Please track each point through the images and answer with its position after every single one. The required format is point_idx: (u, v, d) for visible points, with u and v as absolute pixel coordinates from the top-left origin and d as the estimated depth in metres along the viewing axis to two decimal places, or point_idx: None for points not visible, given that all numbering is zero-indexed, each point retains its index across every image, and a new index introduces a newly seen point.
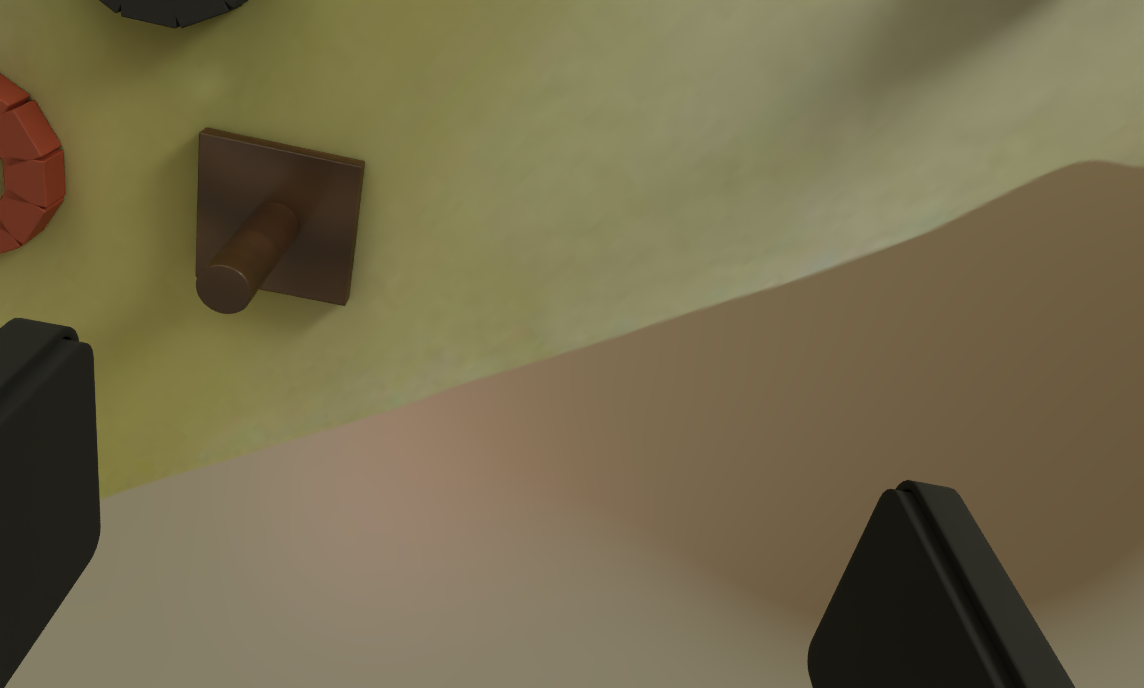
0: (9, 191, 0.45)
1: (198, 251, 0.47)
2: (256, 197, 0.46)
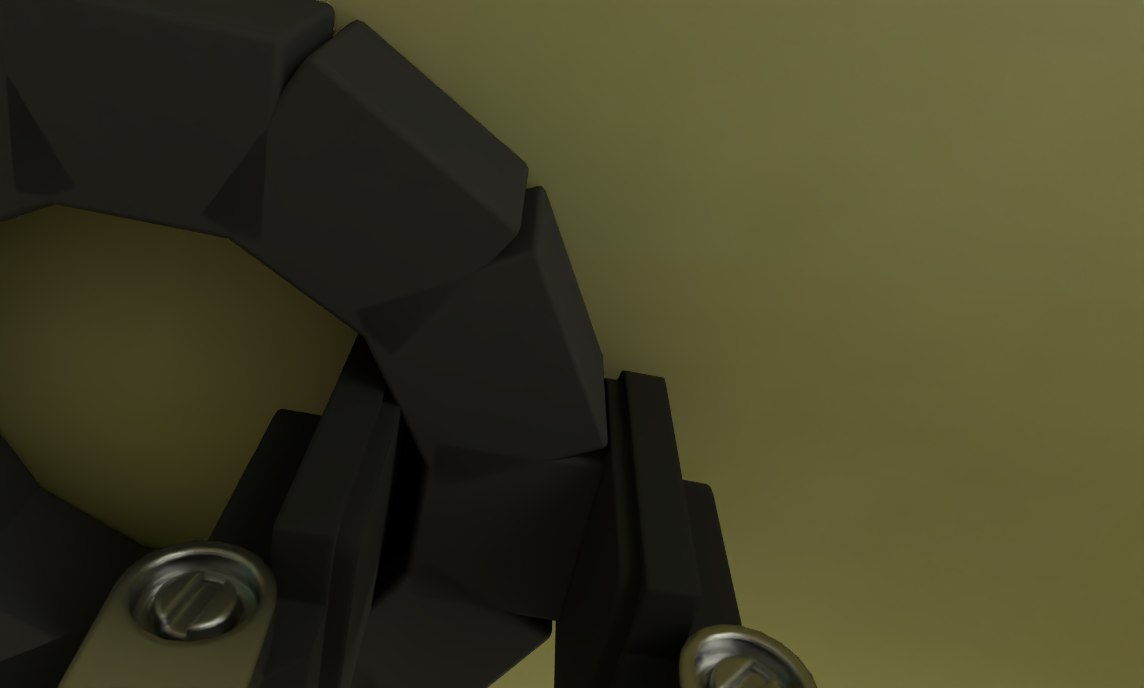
0: None
1: None
2: None
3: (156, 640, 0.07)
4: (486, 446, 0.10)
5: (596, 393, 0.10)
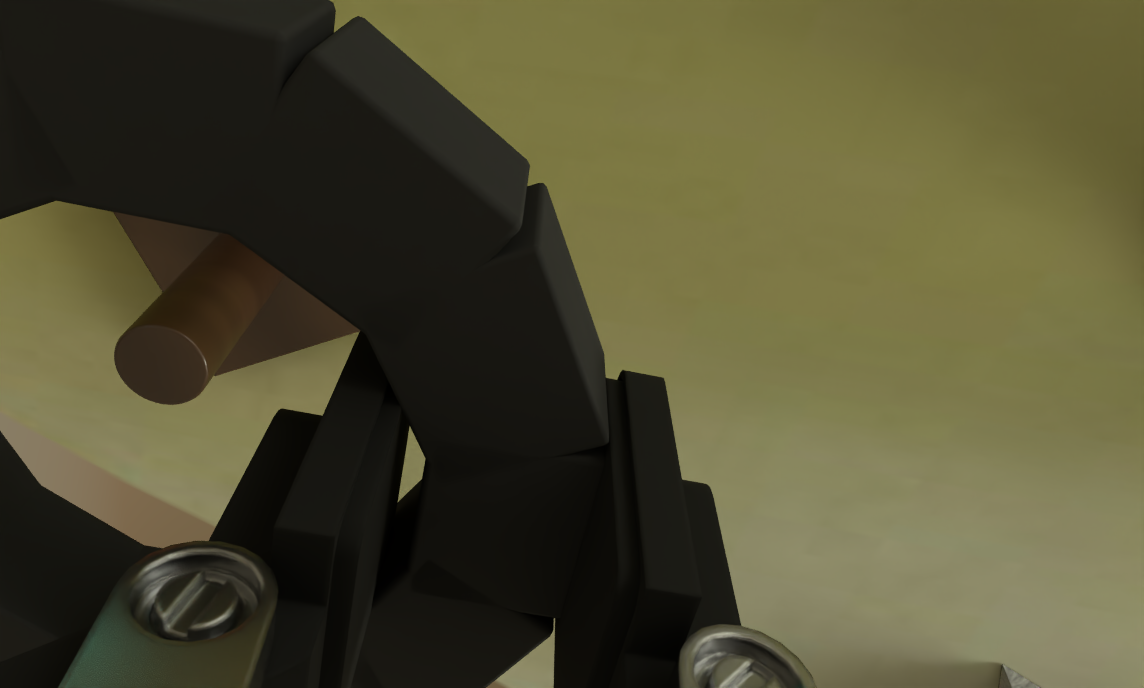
0: None
1: None
2: None
3: (158, 639, 0.07)
4: (487, 443, 0.10)
5: (598, 390, 0.10)
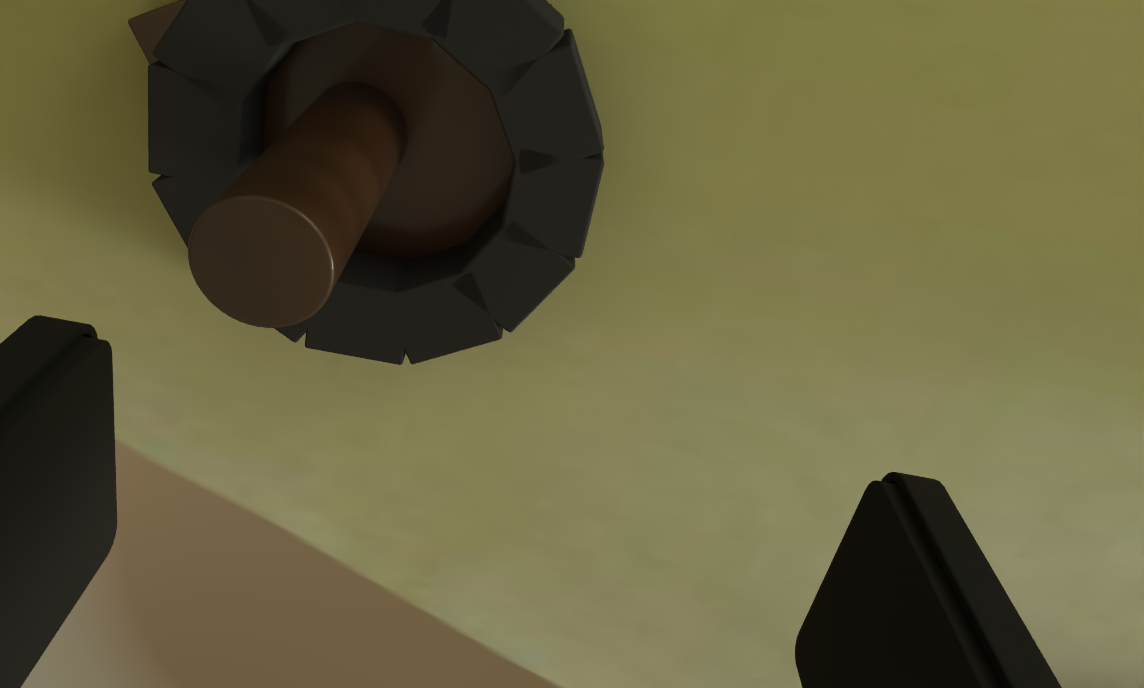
0: None
1: None
2: (387, 74, 0.21)
3: None
4: (545, 149, 0.20)
5: (598, 126, 0.20)
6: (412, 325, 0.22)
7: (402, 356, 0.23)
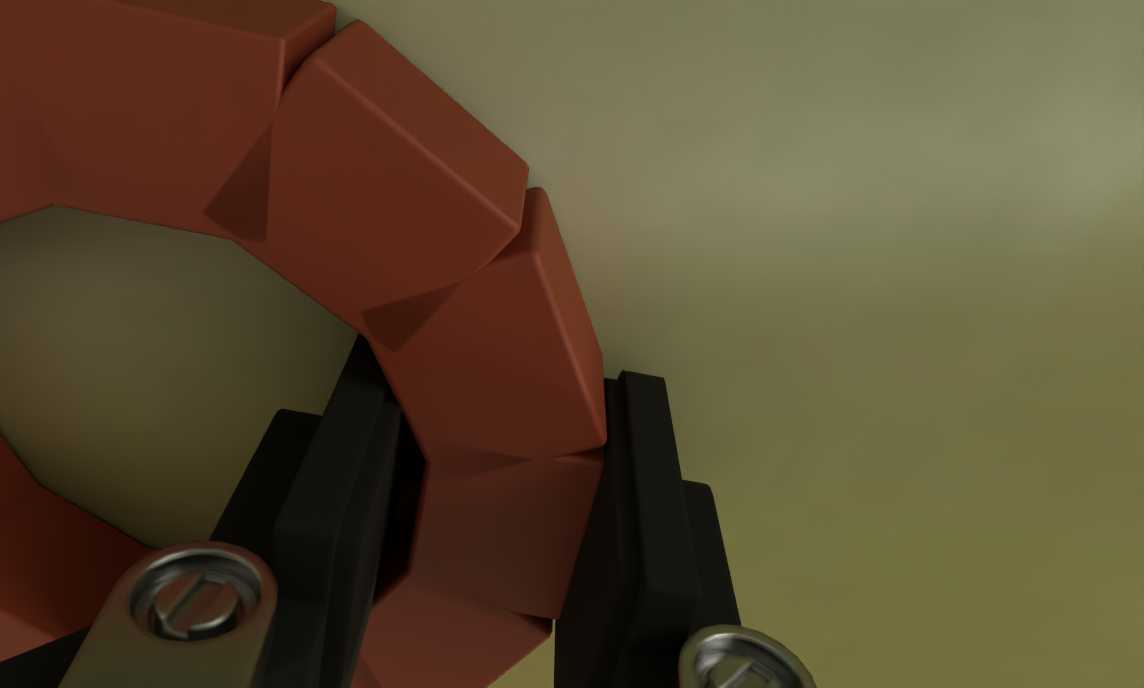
0: None
1: None
2: None
3: (156, 640, 0.07)
4: None
5: None
6: None
7: None
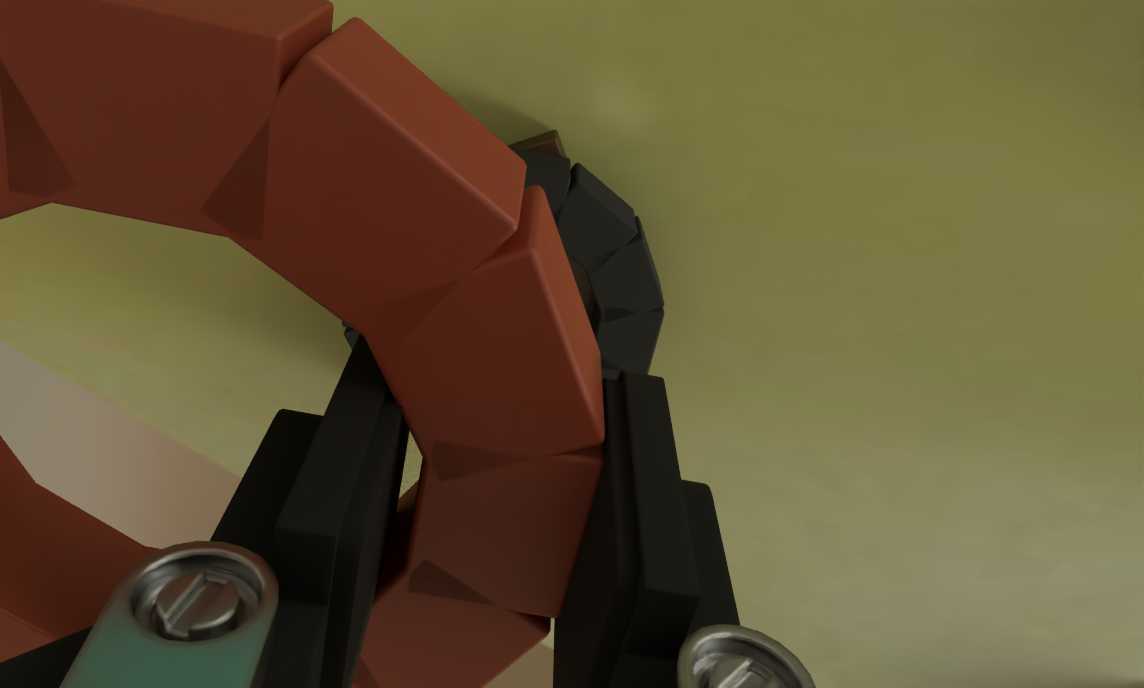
0: None
1: None
2: None
3: (158, 639, 0.07)
4: (623, 306, 0.28)
5: (659, 288, 0.29)
6: None
7: None
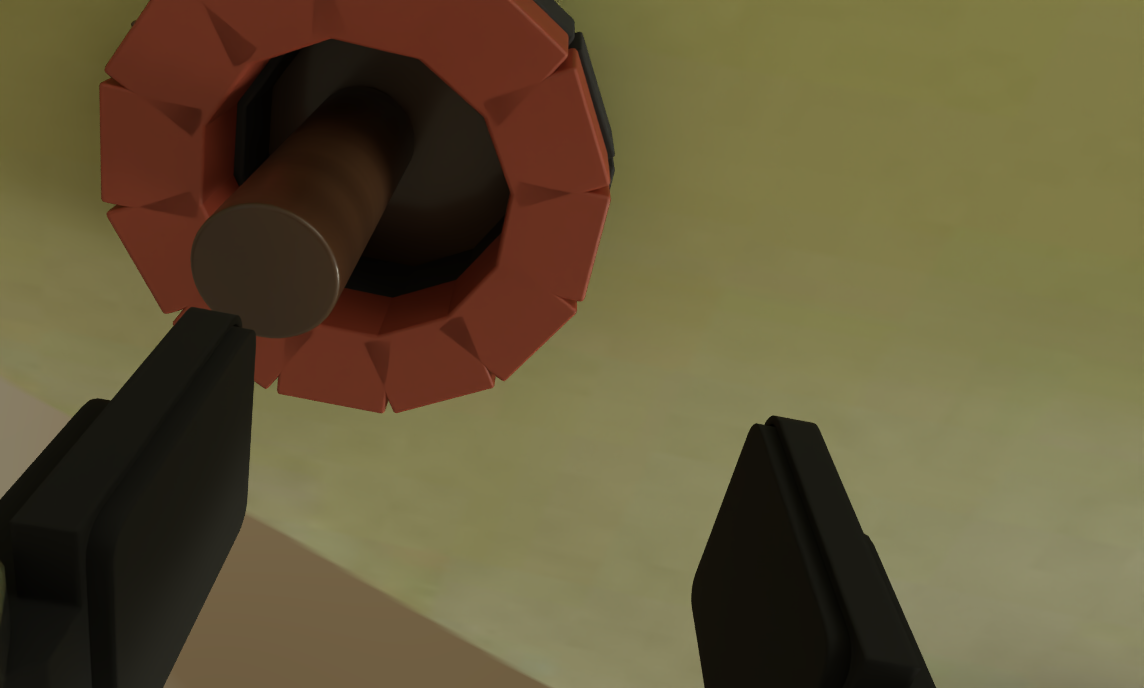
0: (385, 345, 0.20)
1: None
2: (393, 78, 0.21)
3: None
4: None
5: (609, 131, 0.20)
6: None
7: None
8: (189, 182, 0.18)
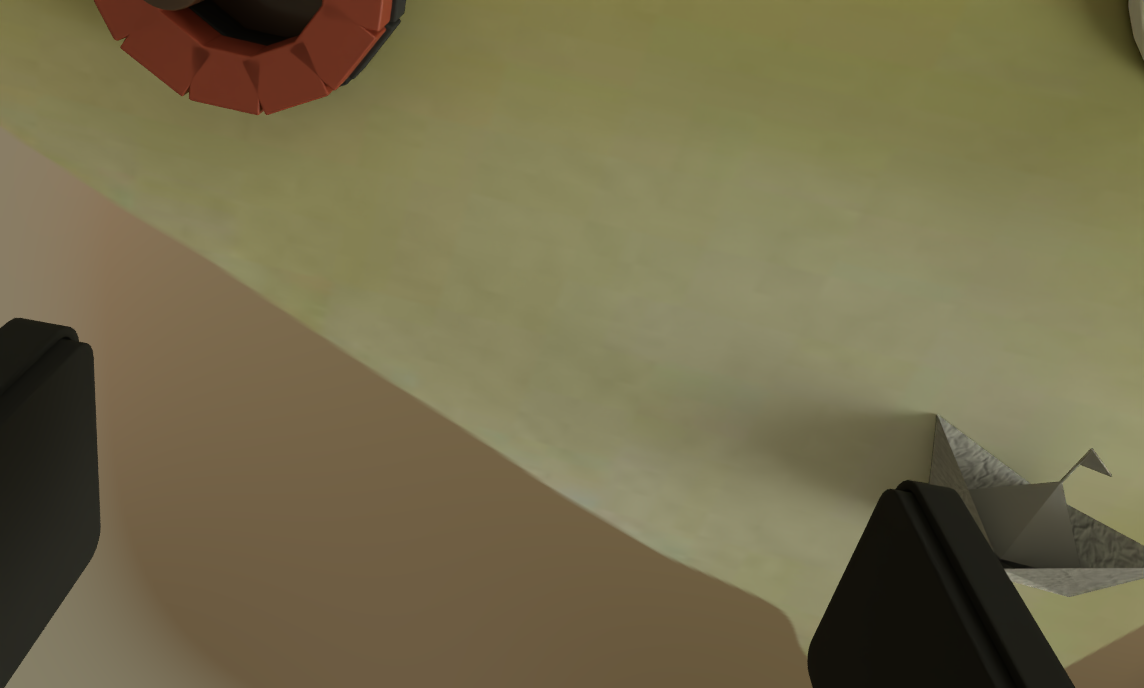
0: (256, 63, 0.31)
1: None
2: None
3: None
4: None
5: None
6: None
7: None
8: None
